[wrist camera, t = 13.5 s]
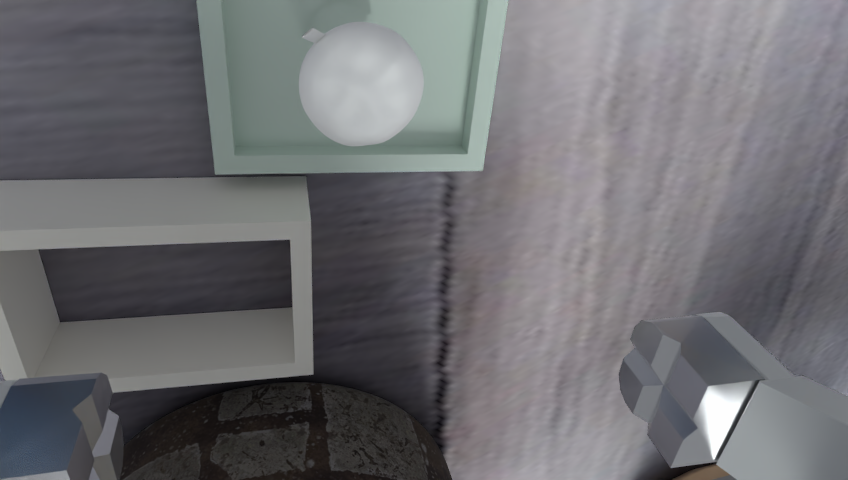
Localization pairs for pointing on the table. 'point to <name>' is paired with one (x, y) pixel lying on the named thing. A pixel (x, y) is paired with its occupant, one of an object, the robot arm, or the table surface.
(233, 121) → the tray
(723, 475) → the desk lamp
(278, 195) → the frame
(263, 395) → the planter
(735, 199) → the table surface
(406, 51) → the milkshake
